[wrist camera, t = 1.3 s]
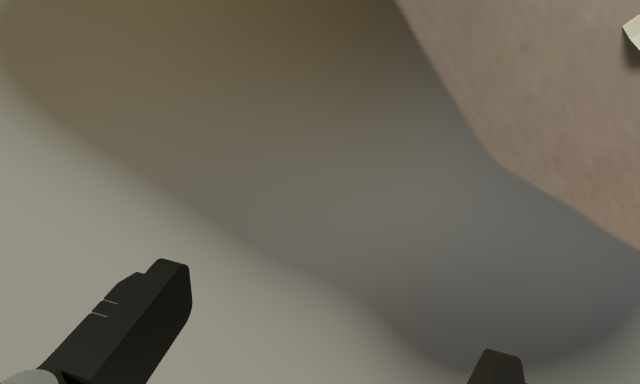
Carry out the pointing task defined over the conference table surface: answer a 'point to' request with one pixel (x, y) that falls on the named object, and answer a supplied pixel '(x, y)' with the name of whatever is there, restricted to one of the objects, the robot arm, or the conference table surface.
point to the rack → (633, 30)
